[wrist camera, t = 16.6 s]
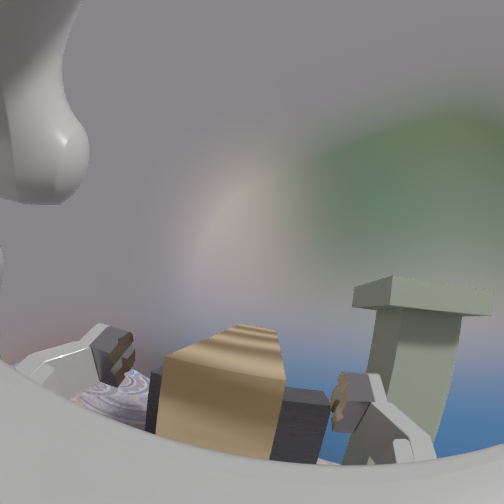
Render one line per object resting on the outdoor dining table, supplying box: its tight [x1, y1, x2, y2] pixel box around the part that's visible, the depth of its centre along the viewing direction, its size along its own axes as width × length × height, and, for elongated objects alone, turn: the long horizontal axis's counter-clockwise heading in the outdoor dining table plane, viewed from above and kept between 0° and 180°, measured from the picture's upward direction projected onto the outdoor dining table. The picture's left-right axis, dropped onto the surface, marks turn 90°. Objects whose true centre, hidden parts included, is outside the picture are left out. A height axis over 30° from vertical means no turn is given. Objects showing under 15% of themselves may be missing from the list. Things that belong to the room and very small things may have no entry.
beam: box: [156, 324, 286, 460], centre depth 20 cm, size 24×4×4 cm, turn 176°
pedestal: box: [341, 276, 494, 465], centre depth 21 cm, size 10×10×26 cm
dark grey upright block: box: [145, 367, 331, 464], centre depth 19 cm, size 8×14×16 cm, turn 86°
